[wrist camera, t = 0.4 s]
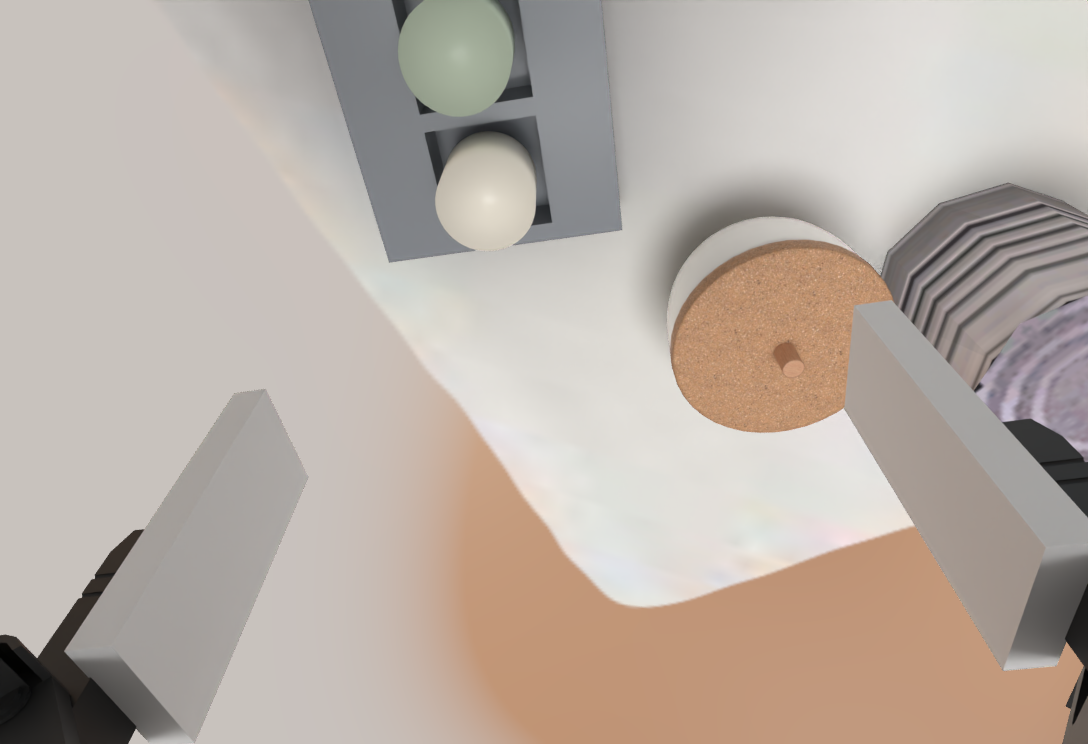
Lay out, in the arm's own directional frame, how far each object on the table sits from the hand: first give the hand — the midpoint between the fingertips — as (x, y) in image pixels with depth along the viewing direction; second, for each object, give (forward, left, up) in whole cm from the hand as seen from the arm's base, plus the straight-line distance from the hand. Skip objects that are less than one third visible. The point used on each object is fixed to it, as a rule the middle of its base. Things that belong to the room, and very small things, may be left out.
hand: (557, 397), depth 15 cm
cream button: (+1, -3, -20) cm, 20 cm away
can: (+12, +23, -23) cm, 35 cm away
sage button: (-5, -3, -20) cm, 21 cm away
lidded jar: (+10, +10, -23) cm, 27 cm away
